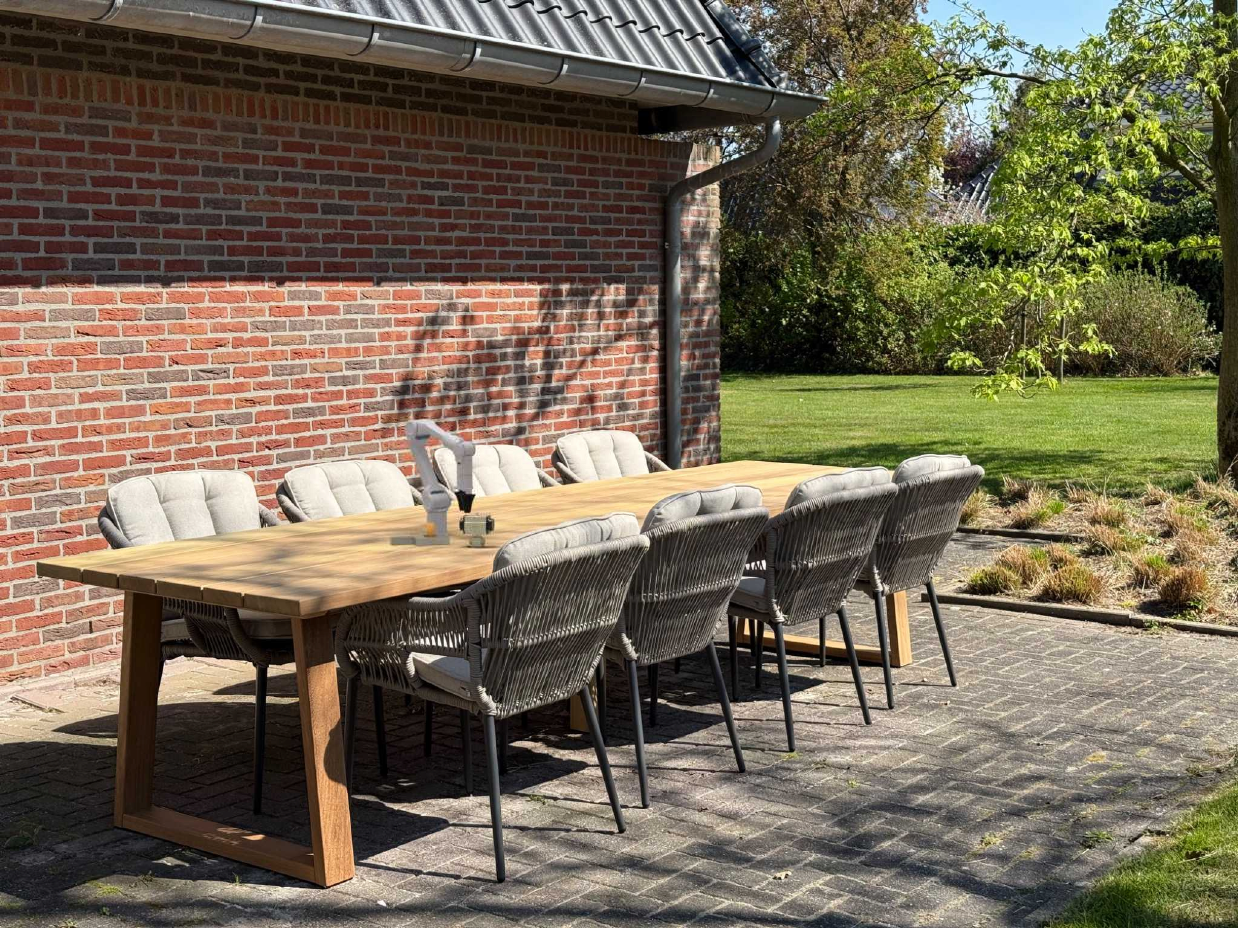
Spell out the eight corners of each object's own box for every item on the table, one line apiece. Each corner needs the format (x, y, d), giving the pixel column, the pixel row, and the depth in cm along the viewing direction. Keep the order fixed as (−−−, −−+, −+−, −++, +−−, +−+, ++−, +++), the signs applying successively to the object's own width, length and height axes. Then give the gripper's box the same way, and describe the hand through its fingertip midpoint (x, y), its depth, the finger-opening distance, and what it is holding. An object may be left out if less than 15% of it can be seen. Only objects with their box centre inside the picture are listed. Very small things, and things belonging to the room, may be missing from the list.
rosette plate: (388, 542, 534) (388, 535, 534) (443, 539, 540) (443, 532, 540) (393, 546, 523) (393, 539, 523) (449, 544, 529) (449, 537, 529)
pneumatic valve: (462, 545, 526) (462, 511, 525) (495, 545, 525) (494, 512, 523) (458, 547, 521) (458, 513, 520) (491, 548, 519) (491, 513, 518)
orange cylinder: (425, 542, 534) (425, 523, 533) (433, 541, 535) (433, 522, 534) (427, 543, 531) (427, 524, 530) (435, 542, 532) (435, 523, 531)
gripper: (449, 473, 546) (450, 509, 547) (458, 476, 532) (458, 514, 534) (468, 472, 548) (468, 509, 550) (477, 476, 535) (477, 513, 536)
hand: (465, 511), depth 542 cm, fingers open, 7 cm apart
